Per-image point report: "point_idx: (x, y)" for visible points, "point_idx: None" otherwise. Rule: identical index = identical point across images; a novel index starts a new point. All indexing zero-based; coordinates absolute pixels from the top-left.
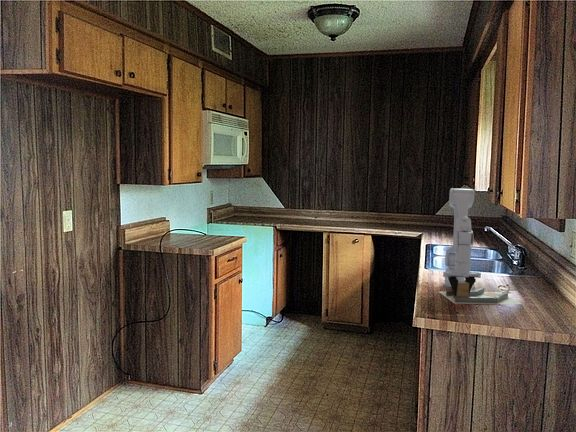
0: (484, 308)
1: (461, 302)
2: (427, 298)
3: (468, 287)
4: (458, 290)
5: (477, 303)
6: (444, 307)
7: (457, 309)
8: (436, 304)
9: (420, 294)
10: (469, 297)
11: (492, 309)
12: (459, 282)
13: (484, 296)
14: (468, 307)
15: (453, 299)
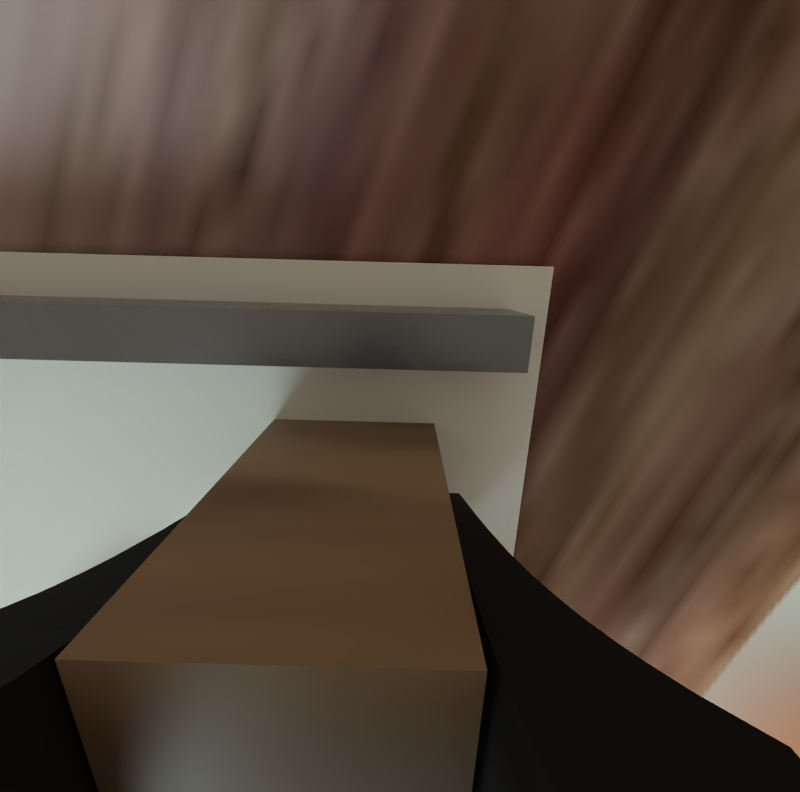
0: (129, 100)
1: (419, 306)
2: (714, 565)
3: (172, 547)
4: (432, 503)
5: (181, 264)
6: (749, 151)
7: (602, 24)
8: (769, 314)
9: (698, 691)
10: (269, 328)
11: (9, 36)
12: (394, 731)
13: (7, 591)
14: (367, 158)
15: (464, 462)
